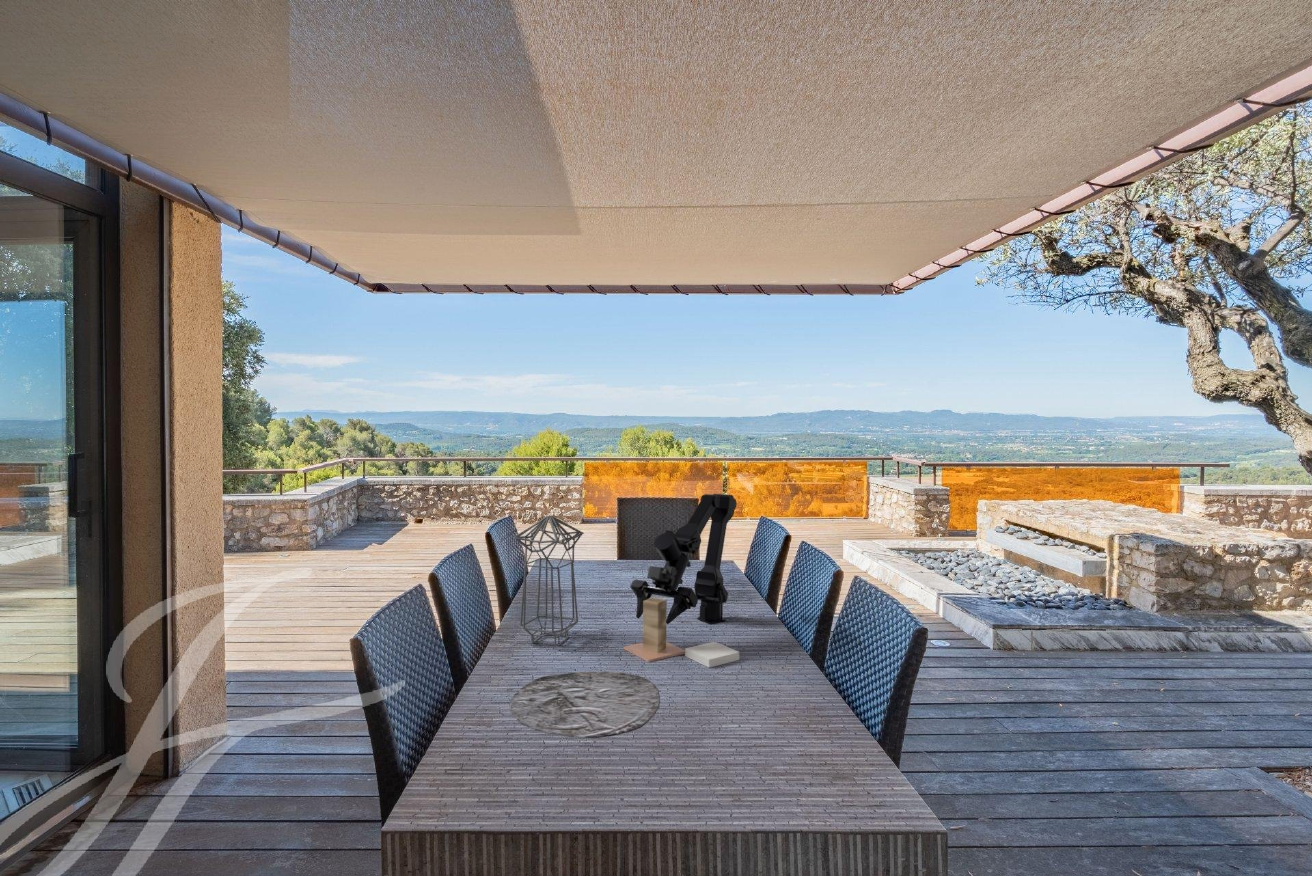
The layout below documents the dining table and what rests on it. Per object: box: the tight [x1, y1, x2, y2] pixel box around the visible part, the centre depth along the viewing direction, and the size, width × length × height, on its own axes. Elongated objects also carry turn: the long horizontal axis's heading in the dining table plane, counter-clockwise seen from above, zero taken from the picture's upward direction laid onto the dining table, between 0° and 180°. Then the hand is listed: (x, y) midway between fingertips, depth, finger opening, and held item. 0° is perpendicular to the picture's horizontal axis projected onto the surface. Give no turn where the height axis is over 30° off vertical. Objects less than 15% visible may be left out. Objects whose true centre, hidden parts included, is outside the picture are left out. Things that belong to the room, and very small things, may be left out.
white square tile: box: [684, 641, 740, 668], centre depth 177 cm, size 10×10×2 cm
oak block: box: [642, 596, 668, 653], centre depth 181 cm, size 4×4×13 cm
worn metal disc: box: [509, 670, 661, 739], centre depth 149 cm, size 33×35×1 cm
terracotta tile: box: [623, 641, 685, 663], centre depth 182 cm, size 12×12×1 cm
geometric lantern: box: [513, 515, 585, 646], centre depth 190 cm, size 16×16×35 cm
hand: (652, 620), depth 180 cm, fingers open, 9 cm apart
